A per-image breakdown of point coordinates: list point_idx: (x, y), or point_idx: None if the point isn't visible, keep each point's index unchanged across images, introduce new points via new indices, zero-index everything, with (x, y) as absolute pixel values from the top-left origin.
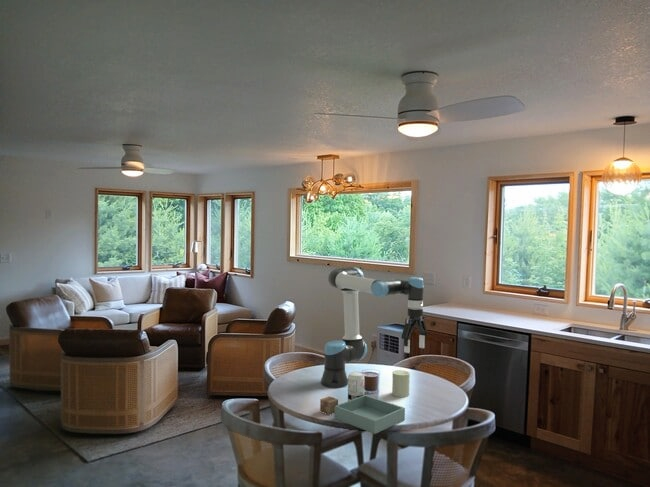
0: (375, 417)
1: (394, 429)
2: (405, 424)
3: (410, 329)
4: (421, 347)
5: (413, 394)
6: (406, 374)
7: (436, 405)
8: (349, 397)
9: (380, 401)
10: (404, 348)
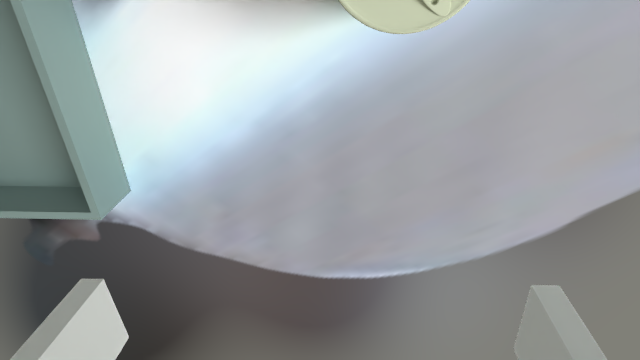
0: (17, 103)
1: None
2: None
3: None
4: (525, 326)
5: None
6: (395, 18)
7: (375, 193)
8: None
9: (44, 81)
10: (42, 330)
